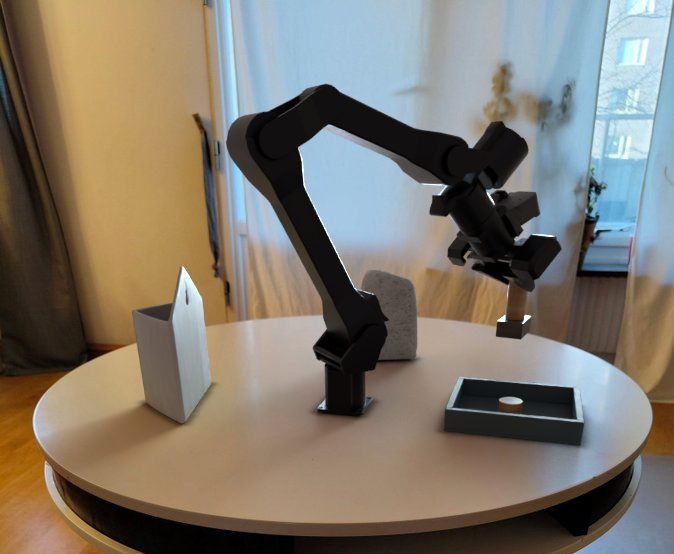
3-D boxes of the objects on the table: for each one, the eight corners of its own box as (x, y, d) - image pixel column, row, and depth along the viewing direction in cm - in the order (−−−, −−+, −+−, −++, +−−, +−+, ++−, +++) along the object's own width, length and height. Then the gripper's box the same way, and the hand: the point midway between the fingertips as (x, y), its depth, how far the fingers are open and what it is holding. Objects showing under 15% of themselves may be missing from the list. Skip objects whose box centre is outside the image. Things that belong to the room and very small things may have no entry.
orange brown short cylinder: (520, 419, 81) (522, 405, 80) (497, 417, 82) (498, 403, 81) (521, 411, 83) (523, 397, 83) (498, 409, 84) (500, 395, 83)
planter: (162, 384, 97) (144, 257, 89) (211, 384, 97) (198, 257, 89) (126, 423, 83) (101, 276, 74) (185, 423, 82) (166, 276, 74)
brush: (521, 339, 94) (532, 244, 89) (495, 336, 96) (505, 243, 90) (529, 331, 99) (541, 240, 93) (505, 328, 101) (514, 239, 95)
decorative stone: (416, 353, 111) (420, 268, 105) (417, 363, 106) (421, 274, 99) (356, 352, 112) (356, 268, 106) (354, 362, 107) (354, 274, 100)
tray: (580, 445, 74) (584, 422, 73) (443, 430, 79) (445, 409, 78) (576, 406, 86) (579, 386, 85) (457, 395, 91) (458, 376, 89)
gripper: (562, 170, 78) (606, 254, 88) (468, 170, 93) (514, 241, 103) (509, 238, 78) (558, 315, 88) (423, 227, 93) (473, 293, 103)
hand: (524, 288), depth 95 cm, fingers closed on brush, 3 cm apart
